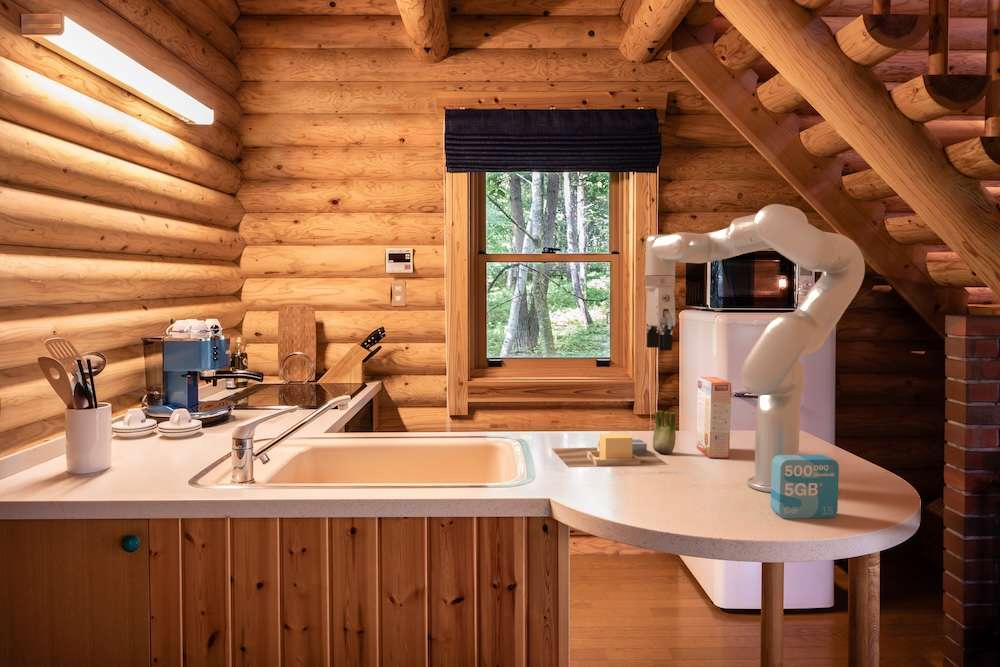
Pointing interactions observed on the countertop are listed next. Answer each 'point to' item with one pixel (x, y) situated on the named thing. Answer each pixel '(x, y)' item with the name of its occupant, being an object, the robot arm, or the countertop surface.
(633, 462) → the board
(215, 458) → the countertop surface
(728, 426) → the cracker box
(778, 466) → the data package
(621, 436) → the block
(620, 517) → the countertop surface
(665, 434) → the fennel bulb
